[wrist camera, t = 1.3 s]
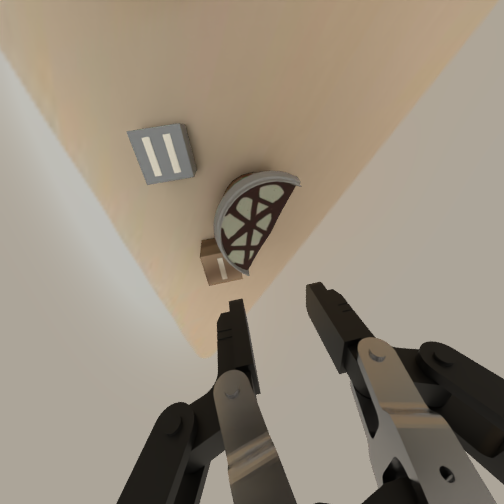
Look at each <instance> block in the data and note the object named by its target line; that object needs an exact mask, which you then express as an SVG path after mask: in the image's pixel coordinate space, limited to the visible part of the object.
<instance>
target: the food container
mask: <svg viewBox="0 0 504 504" xmlns="http://www.w3.org/2000/svg"><path fill="white" fill-rule="evenodd" d="M295 185H297V186H300V187H301V185H300V180H299V179H298V177H297V176H294V175H292V174H290V173H286V172H282V171H264V172H259V173H255V172H252V173H248V174H244V175H241V176H240V177H238V178H237V179H235V180H233V181H232V183H231V184H230V185H229V186H228V187H227V189H226V191H225V193H224V196H223V198H222V200H221V202H220V203H219V205H218V208H217V211H216V214H215V218H214V235H215V240H216V242H217V245H218V247H219V249H220V251H221V253H222V255H223V256H224V258H225V259H226V260H227V261H228V263H229V264H230V265H232V266H233V267H234V268H235V269H236V270H238V271H240V272H241V273H243V274H245V275H248V276H249V267H250V266H251V264H252V262H253V260H254V258H255V256H256V255H257V253H258V251H259V250H260V248H261V246H262V245H263V243H264V242H265V240H266V239H267V237H268V236H269V234H270V233H271V231H272V229H273V227H274V225H275V223H276V221H277V219H278V217H279V215H280V213H281V211H282V209H283V207H284V206H285V204H286V202H287V200H288V199H289V197H290V195H291V193H292V192H293V190H294V188H295Z"/></svg>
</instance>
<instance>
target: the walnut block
mask: <svg viewBox="0 0 504 504" xmlns="http://www.w3.org/2000/svg"><path fill="white" fill-rule="evenodd" d="M200 259H201V262H202V265H203V268H204V271H205V275H206V278H207V281H208V284H209V286H211V285H215V284H220V283H225V282H230V281H234V280H239V279H243V277H242V273H241V272H240V271H238V270H236V269H235V268H234V267H233V266H232V265H230V264H229V263H228V261H227V260H226V259H225V258H224V256H223V255H222V253H221V251H220V249H219V247H218V245H217V242H216V240H215V238H212V239H207V240H202V243H201V252H200Z"/></svg>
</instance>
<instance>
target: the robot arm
mask: <svg viewBox="0 0 504 504" xmlns="http://www.w3.org/2000/svg"><path fill="white" fill-rule="evenodd" d="M306 307H307V312H308V315H309V317H310V318H311V321H312V322H313V324H314V326H315V328H316V330H317V332H318V334H319V336H320V338H321V340H322V342H323V344H324V346H325V347H326V349H327V351H328V353H329V355H330V357H331V359H332V360H333V363H334V365H335V367H336V369H337V370H338V372H339V374H342V373H346V372H347V374H348V375H349V377H350V379H351V381H350V386H351V390H352V393H353V396H354V399H355V402H356V405H357V408H358V412H359V415H360V418H361V421H362V424H363V427H364V430H365V434H366V437H367V441H368V447H369V456H370V461H371V465H372V469H373V472H374V475H375V478H376V481H377V485H378V488H379V489H378V490H376V492H374V493H373V494H372V495H371V496H370V497H369V498H367V500H365V501H364V502H363V503H362V504H496V502H495V500H494V498H493V497H492V495H491V493H490V492H489V490H488V488H487V487H486V485H485V484H484V482H483V481H482V479H481V477H480V475H479V474H478V472H477V470H476V469H475V467H474V465H473V464H472V462H471V460H470V459H469V457H468V455H467V454H466V452H467V453H468V454H469V455H471V456H472V457H473V458H474V459H475V460H476V461H477V462H479V463H480V464H481V465H482V466H483V467H484V468H486V469H487V470H488V471H489V472H490V473H491V474H492V475H493V476H495V477H496V478H497V479H498V480H499V481H500V482H502V483H503V484H504V379H503V378H501V377H499V376H498V375H496V374H494V373H493V372H491V371H489V370H488V369H486V368H484V367H483V366H481V365H479V364H478V363H476V362H474V361H473V360H471V359H469V358H468V357H466V356H465V355H463V354H461V353H459V352H458V351H456V350H455V349H453V348H451V347H449V346H447V345H445V344H442V343H439V342H426V343H423V344H422V345H421V347H420V349H419V350H418V349H406V348H395V347H392V346H390V345H389V344H388V343H387V342H385V341H383V340H381V339H378V338H376V337H374V335H373V334H372V333H371V332H370V330H368V328H367V327H366V325H365V324H364V323H363V322H362V320H361V319H360V318H359V316H358V315H357V314H356V313H355V311H354V310H353V309H352V308H351V306H350V305H349V304H348V303H347V302H346V300H345V299H344V298H343V296H342V295H341V294H339V293H338V292H336V291H335V290H333V289H331V290H327V289H326V288H325V286H324V285H323V284H322V283H321V282H317V283H312V284H308V285H306ZM229 308H230V312H226V313H222V314H221V315H220V317H219V319H218V321H217V340H218V341H217V346H218V376H217V379H216V382H215V384H214V386H213V387H212V388H211V390H210V391H209V392H208V393H207V394H205V395H204V396H202V397H201V398H199V399H198V400H196V401H195V402H193V403H192V404H190V405H188V404H186V403H184V402H178V403H174V404H172V405H170V406H169V407H167V408H166V409H165V410H164V411H163V412H162V413H161V415H160V416H159V417H158V419H157V421H156V423H155V425H154V427H153V429H152V431H151V433H150V436H149V438H148V439H147V442H146V444H145V446H144V448H143V450H142V452H141V454H140V456H139V458H138V460H137V462H136V464H135V466H134V468H133V471H132V473H131V475H130V477H129V479H128V481H127V483H126V485H125V487H124V489H123V491H122V493H121V495H120V497H119V499H118V502H117V504H199V503H200V499H201V496H202V492H203V488H204V484H205V481H206V477H207V473H208V470H209V465H210V462H211V460H213V459H214V458H215V457H216V456H218V455H219V454H220V453H222V452H223V451H224V450H225V451H226V456H227V461H228V475H229V482H230V487H231V492H232V496H233V502H234V504H297V503H296V500H295V498H294V495H293V492H292V490H291V487H290V485H289V482H288V479H287V477H286V474H285V472H284V469H283V466H282V464H281V461H280V459H279V456H278V453H277V451H276V448H275V446H274V444H273V442H272V440H271V437H270V435H269V433H268V430H267V427H266V425H265V422H264V419H263V417H262V414H261V411H260V409H259V406H258V403H257V399H256V395H257V394H260V388H259V382H258V377H257V371H256V366H255V360H254V355H253V350H252V343H251V338H250V333H249V327H248V322H247V317H246V312H245V308H244V303H243V299H238V300H233V301H229ZM465 451H466V452H465ZM315 504H327V503H315Z"/></svg>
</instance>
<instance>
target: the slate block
mask: <svg viewBox="0 0 504 504" xmlns="http://www.w3.org/2000/svg"><path fill="white" fill-rule="evenodd" d="M126 132H127V134H128V137H129V139H130V142H131V144H132V147H133V150H134V152H135V155H136V157H137V160H138V162H139V165H140V168H141V170H142V173H143V175H144V178H145V180H146V183H147V185H150V184H156V183H162V182H167V181H173V180H179V179H185V178H190V177H194V175H195V173H196V171H197V168H196V164H195V160H194V157H193V153H192V149H191V145H190V141H189V137H188V133H187V130H186V126H185V125H184V124H180V123H178V124H171V125H165V126H159V127H152V128H146V129H139V130H133V131H126Z"/></svg>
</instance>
